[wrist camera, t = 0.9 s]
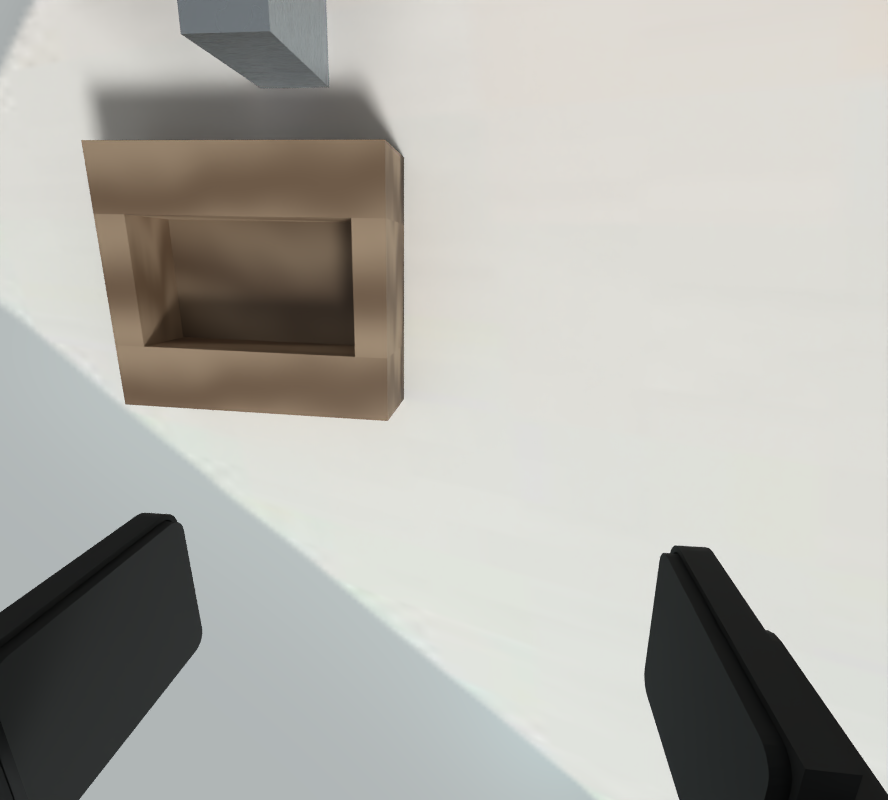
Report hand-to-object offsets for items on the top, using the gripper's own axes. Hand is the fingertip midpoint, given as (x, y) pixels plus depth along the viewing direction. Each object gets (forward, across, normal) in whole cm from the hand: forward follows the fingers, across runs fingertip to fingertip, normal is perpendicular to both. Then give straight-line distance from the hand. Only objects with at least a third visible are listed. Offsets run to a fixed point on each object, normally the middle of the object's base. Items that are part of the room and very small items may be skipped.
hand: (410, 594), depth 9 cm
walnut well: (+26, +14, -4) cm, 30 cm away
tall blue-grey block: (+26, +12, -19) cm, 34 cm away
